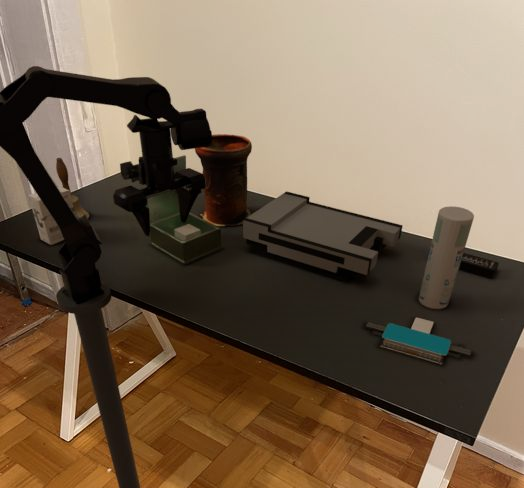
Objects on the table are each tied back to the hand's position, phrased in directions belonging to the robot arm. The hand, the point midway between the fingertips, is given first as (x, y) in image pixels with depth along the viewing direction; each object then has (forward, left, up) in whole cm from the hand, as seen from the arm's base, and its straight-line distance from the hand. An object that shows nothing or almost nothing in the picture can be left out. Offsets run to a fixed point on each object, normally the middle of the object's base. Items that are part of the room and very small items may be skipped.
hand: (165, 228), depth 109 cm
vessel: (+31, +17, -13) cm, 37 cm away
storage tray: (+12, +10, -12) cm, 20 cm away
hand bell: (0, +44, -13) cm, 46 cm away
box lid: (+12, +16, 0) cm, 20 cm away
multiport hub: (+54, -42, -13) cm, 70 cm away
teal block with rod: (+22, -50, -13) cm, 56 cm away
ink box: (-8, +36, -13) cm, 39 cm away
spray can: (+36, -45, -13) cm, 59 cm away
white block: (+12, +9, -12) cm, 19 cm away
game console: (+35, -14, -13) cm, 40 cm away
